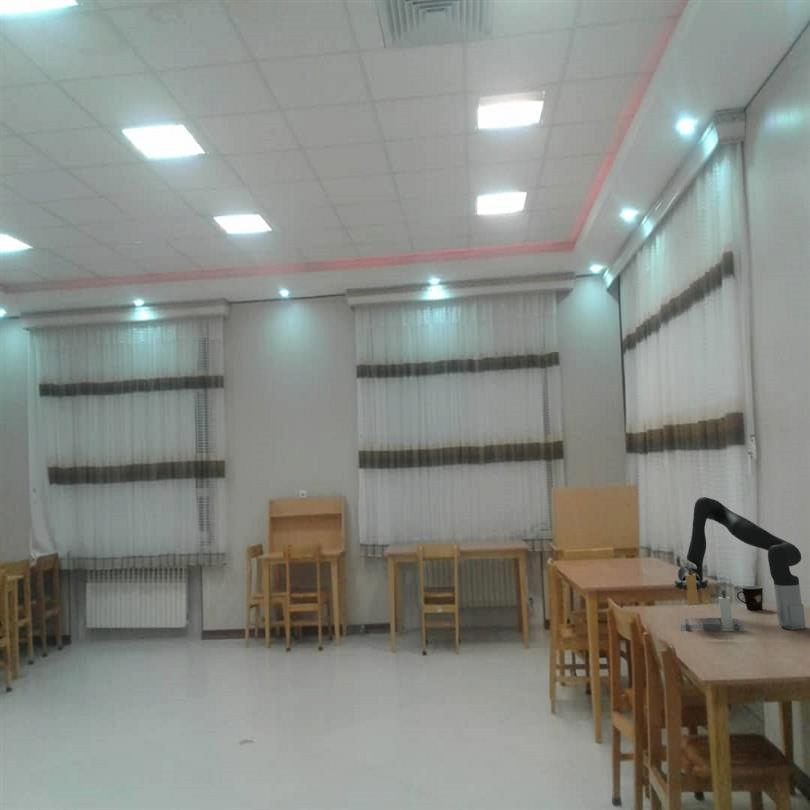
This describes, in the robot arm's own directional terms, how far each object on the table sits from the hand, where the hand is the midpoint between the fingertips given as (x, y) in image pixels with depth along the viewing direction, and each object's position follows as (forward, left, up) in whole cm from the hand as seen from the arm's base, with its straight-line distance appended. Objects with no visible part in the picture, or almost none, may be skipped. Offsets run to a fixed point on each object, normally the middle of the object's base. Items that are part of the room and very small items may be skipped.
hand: (691, 587), depth 311 cm
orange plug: (+2, -1, -7) cm, 8 cm away
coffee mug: (+30, -44, -18) cm, 56 cm away
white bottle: (-3, -12, -17) cm, 21 cm away
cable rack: (0, -7, -18) cm, 19 cm away
